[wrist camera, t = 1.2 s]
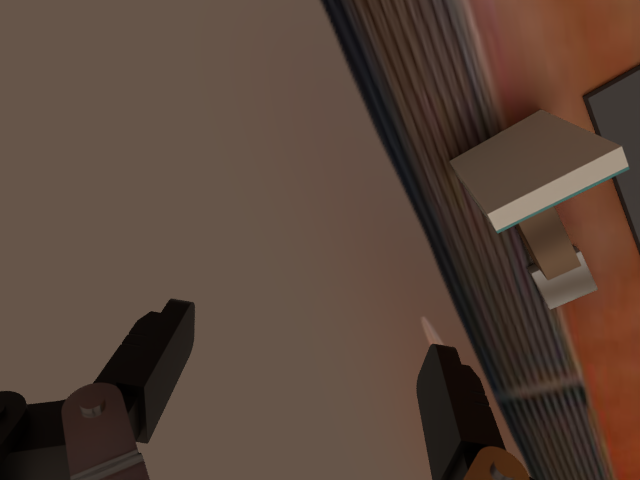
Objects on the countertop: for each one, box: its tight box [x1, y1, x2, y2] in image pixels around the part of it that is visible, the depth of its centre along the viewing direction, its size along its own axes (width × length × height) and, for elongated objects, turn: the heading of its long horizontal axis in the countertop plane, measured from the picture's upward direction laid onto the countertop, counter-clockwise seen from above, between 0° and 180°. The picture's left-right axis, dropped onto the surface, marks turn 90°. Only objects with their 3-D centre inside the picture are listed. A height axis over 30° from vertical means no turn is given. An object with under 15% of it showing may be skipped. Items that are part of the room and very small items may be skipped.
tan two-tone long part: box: [515, 206, 598, 309], centre depth 37 cm, size 15×5×3 cm, turn 34°
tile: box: [449, 110, 629, 233], centre depth 29 cm, size 8×2×11 cm, turn 124°
